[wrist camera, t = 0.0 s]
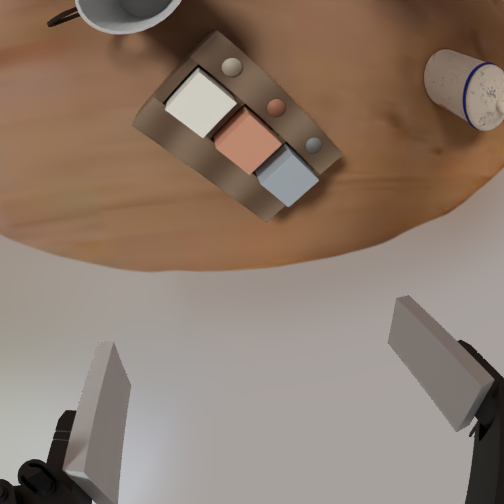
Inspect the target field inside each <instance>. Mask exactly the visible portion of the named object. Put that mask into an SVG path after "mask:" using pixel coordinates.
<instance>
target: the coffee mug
mask: <svg viewBox="0 0 504 504" xmlns="http://www.w3.org/2000/svg"><path fill="white" fill-rule="evenodd" d="M180 2H181V0H75V5H76V7H75V8H72V9H70V10H67V11H64V12H62V13H61V14H59V15H57V16H56V17H54V18H52V19H51V20H50V21H48V22H47V24H48V27H53V26H56V25H58V24H61V23H64V22H66V21H69V20H71V19H74V18H76V17H79V16H81V17H82V18H83V19H84V21H85V22H86V23H88V24H89V25H90V26H91V27H93V28H95V29H97V30H99V31H101V32H105V33H109V34H119V35H123V34H132V33H136V32H140V31H144V30H146V29H148V28H150V27H153V26H155V25H156V24H158V23H159V22H161V21H163V20H164V19H165V18H166V17H168V16H169V15H170V14H171V13H172V12H173V11H174V10H175V9H176V7H177V6H178V5H179V4H180ZM76 11H78V12H79V13H76V14H74V15H71V16H68V17H65V16H67V15H69V14H71V13H73V12H76ZM63 17H65V18H63ZM61 18H62V19H61Z"/></svg>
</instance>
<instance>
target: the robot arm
mask: <svg viewBox="0 0 504 504" xmlns="http://www.w3.org/2000/svg"><path fill="white" fill-rule="evenodd" d="M388 344H389V345H390V346H391V347H392V349H393V350H394V351H395V352H396V354H397V355H398V356H399V357H400V359H401V360H402V361H403V363H404V364H405V365H406V366H407V367H408V369H409V370H410V371H411V373H412V374H413V375H414V376H415V378H416V379H417V380H418V382H419V383H420V384H421V386H422V387H423V388H424V389H425V391H426V392H427V393H428V395H429V396H430V397H431V399H432V400H433V401H434V403H435V404H436V405H437V407H438V408H439V409H440V411H441V412H442V413H443V415H444V416H445V417H446V419H447V420H448V421H449V423H450V424H451V426H452V427H453V428H454V430H455V431H456V432H458V431H459V430H461V429H463V428H465V427H467V426H468V425H469V424H470V423H471V421H472V420H473V418H474V416H475V417H476V418H477V419H478V421H477V423H476V424H475V426H474V427H473V429H472V431H471V432H470V434H469V437H471V436H472V434H473V433H474V432H475V436H474V437H475V439H474V450H473V458H472V466H471V473H470V479H469V485H468V491H467V496H466V501H465V504H504V378H503V377H502V376H501V375H500V374H499V373H498V372H497V371H496V370H495V369H494V368H493V367H492V366H491V365H490V364H489V363H488V362H487V361H486V360H485V359H483V357H482V356H481V355H480V354H479V353H477V351H476V350H475V349H474V348H473V347H472V346H471V345H470V344H468V343H466V342H464V341H462V340H459V341H456V340H455V339H454V338H453V337H452V336H451V335H450V334H449V333H448V332H447V331H446V330H445V329H444V328H443V327H442V326H441V325H440V324H439V323H438V322H437V321H436V320H435V319H433V318H432V317H431V316H430V315H429V314H428V313H427V312H426V311H425V310H424V309H423V308H422V307H420V305H419V304H417V303H416V302H415V301H414V300H413V299H412V298H411V297H410V296H409V295H408V296H405V297H400V298H397V299H396V303H395V309H394V314H393V320H392V325H391V330H390V334H389V339H388ZM130 389H131V384H130V382H129V379H128V377H127V375H126V372H125V370H124V367H123V365H122V362H121V360H120V357H119V354H118V352H117V349H116V346H115V344H114V342H101V343H98V344H97V347H96V350H95V354H94V356H93V360H92V362H91V366H90V369H89V372H88V375H87V378H86V381H85V385H84V388H83V391H82V394H81V398H80V401H79V405H78V408H77V411H72V410H66V411H65V412H64V413H63V415H62V416H61V417H60V418H59V420H58V423H57V426H56V432H55V433H54V437H53V441H52V444H51V448H50V451H49V455H48V459H47V463H45V462H43V461H41V460H38V459H32V460H29V461H27V462H25V463H24V464H23V465H22V466H21V467H20V469H19V471H18V481H19V483H20V484H21V485H18V486H13V485H12V484H10V483H9V482H8V481H6V480H4V479H0V504H92V500H93V501H94V502H95V503H96V504H118V493H119V480H120V469H121V459H122V449H123V440H124V432H125V424H126V417H127V409H128V402H129V396H130Z"/></svg>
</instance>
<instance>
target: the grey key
mask: <svg viewBox="0 0 504 504" xmlns="http://www.w3.org/2000/svg"><path fill="white" fill-rule="evenodd" d="M255 172H256V174H257V177H258V179H259V182H260V184H261V185H262V186H263V187H265V188H266V189H267V190H268V191H269V192H271V193H272V194H273V195H274V196H275V197H277V198H278V199H279V200H280V201H281V202H283V203H284V204H285V205H286V206H287V207H290V206H291V205H292V204H293V203H294V202H295V201H296V200H298V199H299V198H300V197H301V196H302V195H303V194H304V193H306V192H307V191H308V190H309V189H310V188H311V187H312V186H314V185H315V184H316V183H317V182H318V181H319V179H318V178H317V177H316V175H315V174H314V172H313V171H312V170H311V168H310V167H309V166H308V164H307V163H306V162H305V160H304V159H303V158H302V157H301V156H300V155H299V154H298V153H297V152H296V151H295V150H294V149H293V148H292V147H291V146H290V145H289V144H287V143H286V142H285V143H283V144H282V145H281V146H280V147H279V148H278V149H277V150H276V151H275V152H274V153H273V154H272V155H271V156H270V157H268V158H267V159H266V160H265V161H264V162H263V163H262V164H261V165H260V166H259V167H258V168H257V169H256V170H255Z"/></svg>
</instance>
